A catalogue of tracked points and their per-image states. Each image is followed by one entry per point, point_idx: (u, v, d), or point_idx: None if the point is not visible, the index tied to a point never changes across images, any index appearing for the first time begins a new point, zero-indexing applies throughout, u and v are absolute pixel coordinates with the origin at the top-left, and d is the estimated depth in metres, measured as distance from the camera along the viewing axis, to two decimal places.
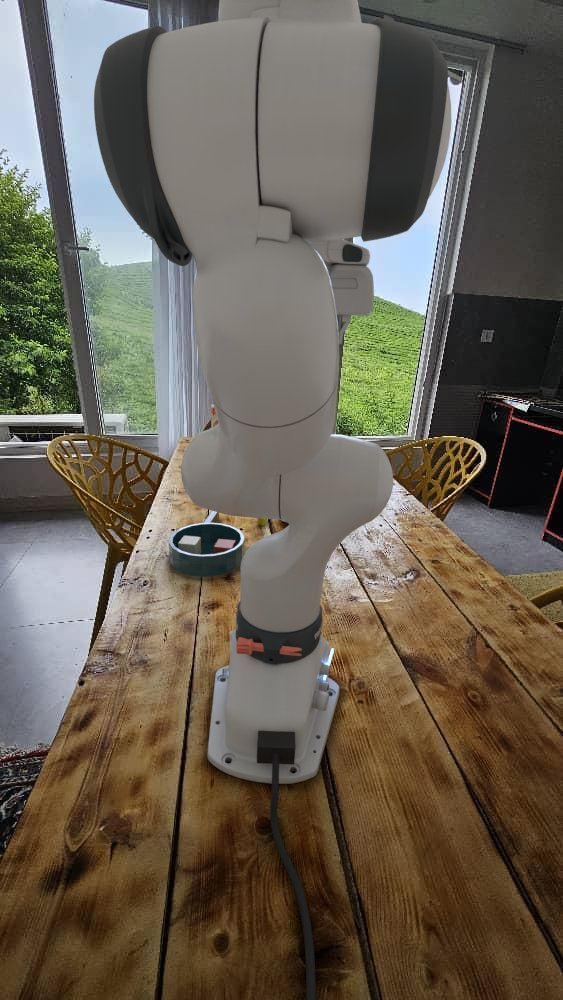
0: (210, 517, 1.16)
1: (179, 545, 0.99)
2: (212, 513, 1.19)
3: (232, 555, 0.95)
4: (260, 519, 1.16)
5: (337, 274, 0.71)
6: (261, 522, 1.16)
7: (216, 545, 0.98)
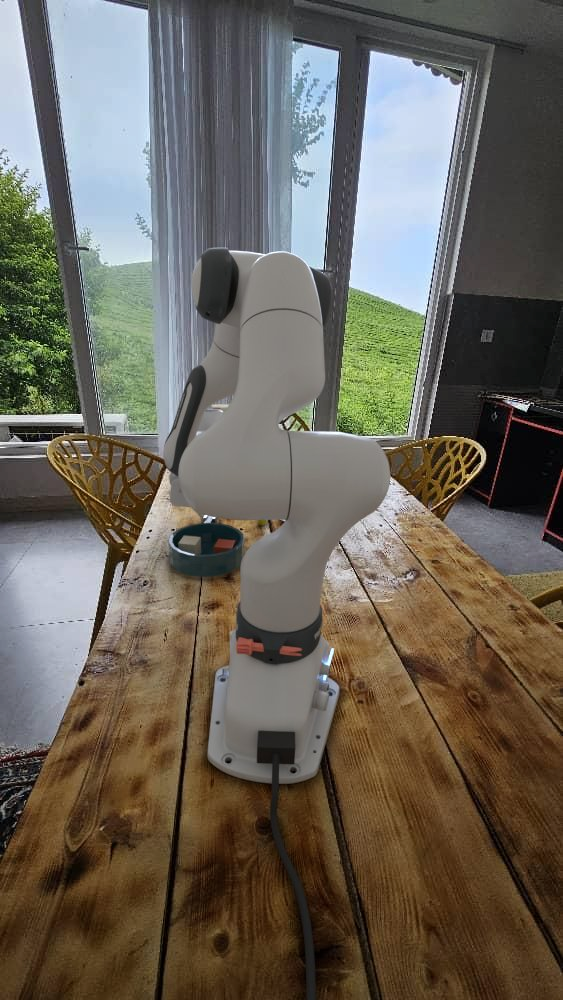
0: (210, 517, 1.16)
1: (179, 545, 0.99)
2: None
3: (232, 555, 0.95)
4: None
5: None
6: (261, 522, 1.16)
7: (216, 545, 0.98)
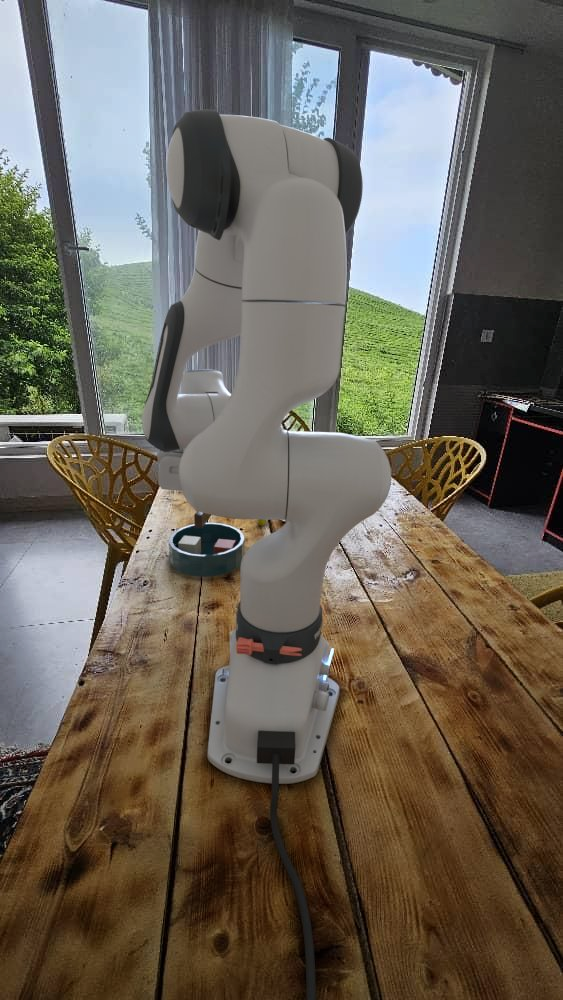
0: None
1: (179, 545, 0.99)
2: None
3: (232, 555, 0.95)
4: None
5: None
6: (261, 522, 1.16)
7: (216, 545, 0.98)
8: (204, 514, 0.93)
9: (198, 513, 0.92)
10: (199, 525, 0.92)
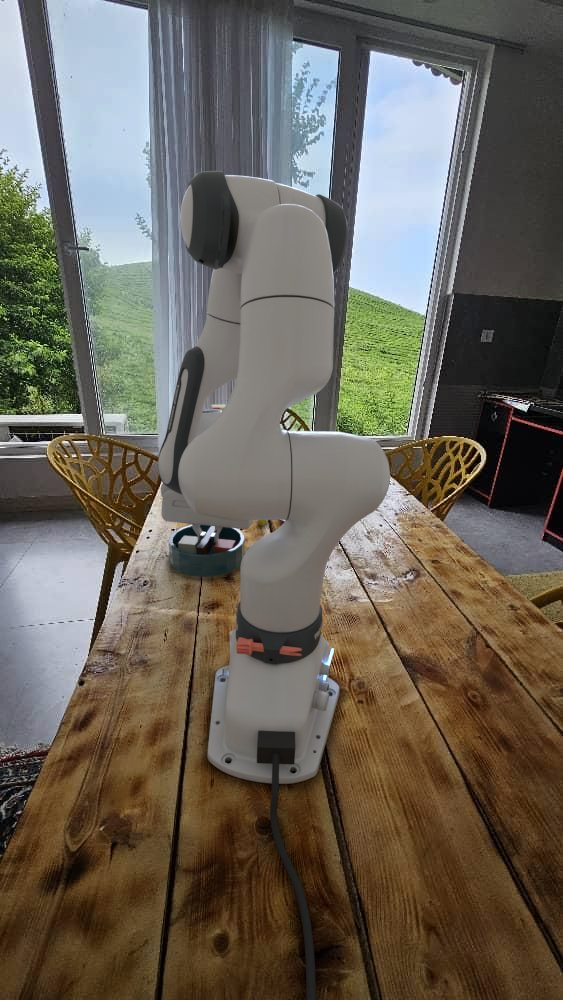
0: (208, 534, 1.00)
1: (179, 545, 0.99)
2: (211, 529, 1.03)
3: (232, 555, 0.95)
4: None
5: None
6: (261, 522, 1.16)
7: (216, 545, 0.98)
8: (206, 546, 0.96)
9: (200, 545, 0.95)
10: None
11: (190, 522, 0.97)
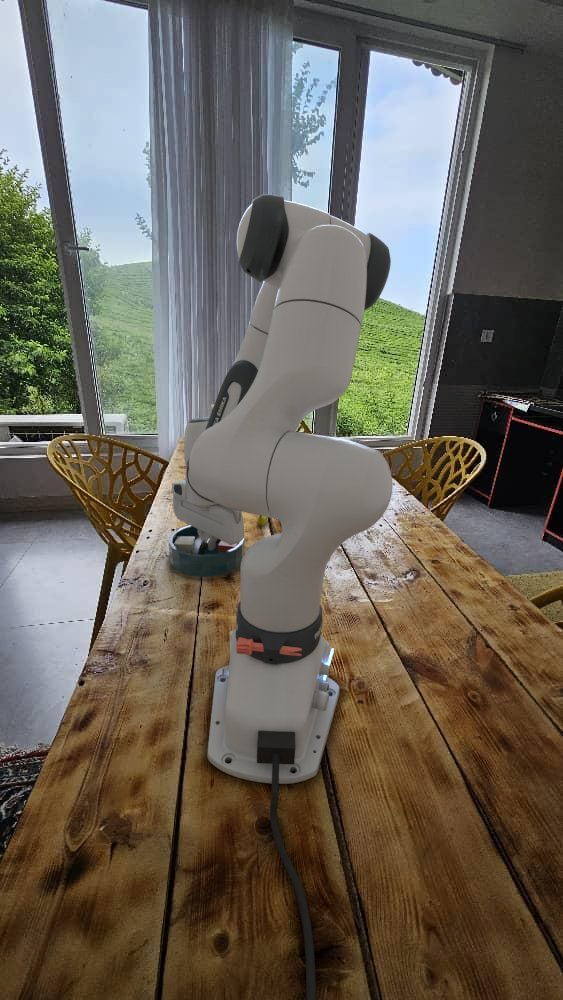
0: (196, 545, 1.00)
1: (175, 546, 0.98)
2: (197, 540, 1.02)
3: (232, 555, 0.95)
4: (260, 519, 1.16)
5: None
6: (261, 522, 1.16)
7: (220, 544, 0.99)
8: None
9: None
10: None
11: None
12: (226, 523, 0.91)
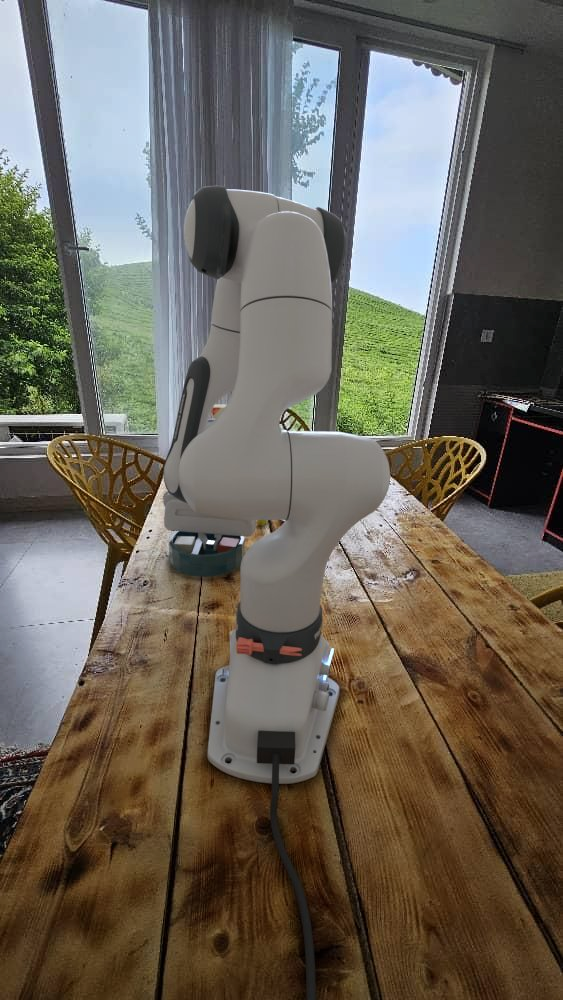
0: (197, 545, 1.00)
1: (175, 546, 0.98)
2: (198, 540, 1.02)
3: (232, 555, 0.95)
4: None
5: None
6: (261, 522, 1.16)
7: (220, 544, 0.99)
8: None
9: None
10: None
11: (193, 531, 0.98)
12: None
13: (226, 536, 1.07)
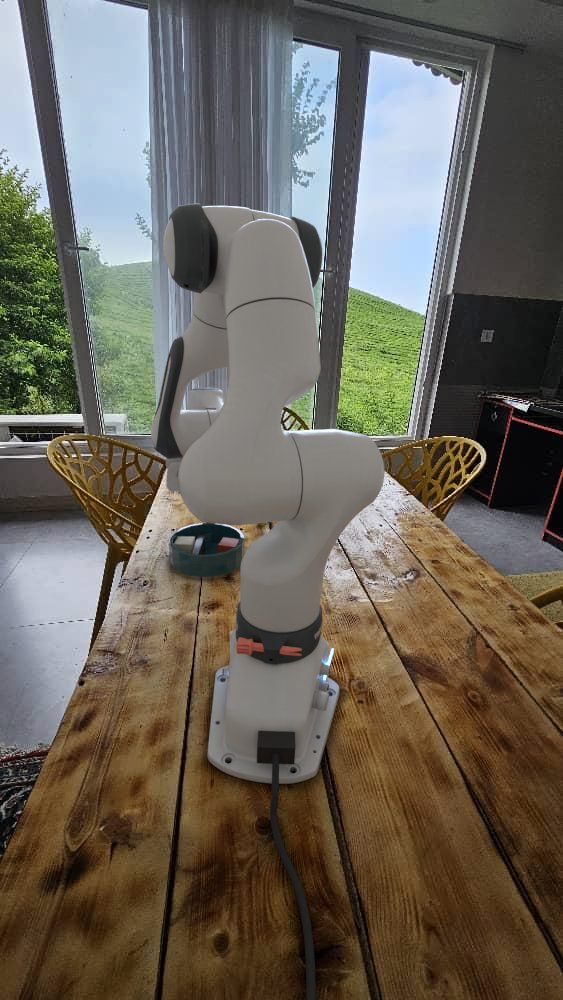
0: (197, 545, 1.00)
1: (175, 546, 0.98)
2: (198, 540, 1.02)
3: (232, 555, 0.95)
4: None
5: None
6: None
7: (220, 544, 0.99)
8: None
9: None
10: None
11: None
12: None
13: (226, 536, 1.07)
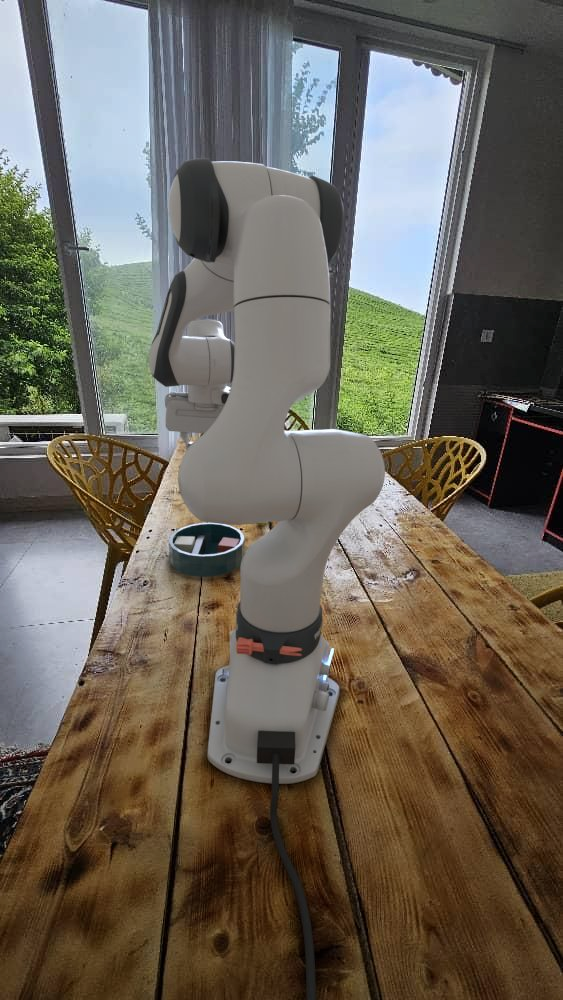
0: (197, 545, 1.00)
1: (175, 546, 0.98)
2: (198, 540, 1.02)
3: (232, 555, 0.95)
4: None
5: (220, 410, 1.03)
6: None
7: (220, 544, 0.99)
8: None
9: None
10: None
11: (192, 431, 1.06)
12: None
13: (226, 536, 1.07)
